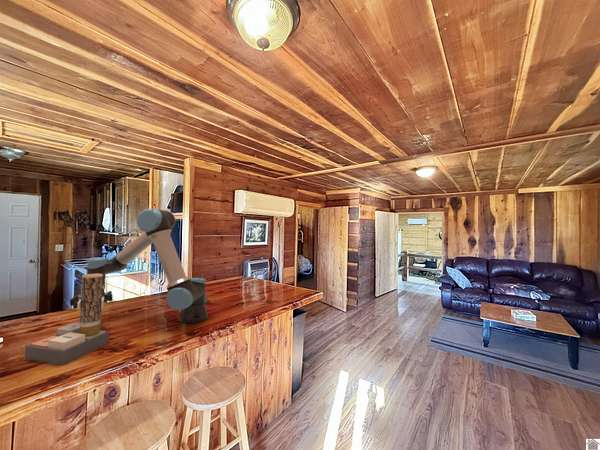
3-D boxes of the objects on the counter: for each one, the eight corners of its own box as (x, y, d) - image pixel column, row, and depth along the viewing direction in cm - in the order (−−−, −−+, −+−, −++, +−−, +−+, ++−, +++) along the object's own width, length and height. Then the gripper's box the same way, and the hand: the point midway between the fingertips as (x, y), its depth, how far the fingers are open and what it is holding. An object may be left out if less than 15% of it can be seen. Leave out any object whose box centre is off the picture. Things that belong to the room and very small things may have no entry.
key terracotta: (67, 345, 100) (67, 337, 100) (45, 354, 92) (45, 346, 92) (52, 342, 101) (53, 335, 101) (29, 351, 94) (30, 343, 94)
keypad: (108, 343, 107) (109, 331, 108) (62, 365, 90) (63, 351, 90) (75, 338, 111) (76, 327, 111) (24, 358, 93) (25, 345, 93)
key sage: (105, 338, 107) (105, 331, 107) (87, 346, 99) (88, 338, 99) (91, 336, 108) (91, 329, 108) (72, 343, 101) (73, 336, 101)
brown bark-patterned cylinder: (87, 338, 100) (91, 277, 100) (74, 335, 101) (78, 275, 102) (104, 331, 107) (107, 274, 107) (91, 329, 108) (94, 273, 108)
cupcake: (201, 305, 164) (201, 287, 164) (193, 302, 168) (194, 285, 168) (211, 302, 171) (212, 285, 171) (204, 300, 175) (204, 283, 176)
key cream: (85, 341, 98) (85, 334, 98) (63, 350, 91) (64, 342, 91) (70, 339, 100) (70, 332, 100) (48, 348, 92) (48, 340, 92)
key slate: (89, 330, 108) (89, 323, 108) (70, 338, 101) (71, 330, 101) (75, 328, 110) (76, 322, 110) (56, 335, 102) (56, 328, 102)
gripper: (119, 297, 124) (120, 310, 106) (66, 303, 112) (56, 318, 94) (119, 282, 124) (120, 292, 106) (66, 287, 112) (57, 299, 94)
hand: (90, 305), depth 100 cm, fingers closed on brown bark-patterned cylinder, 7 cm apart
